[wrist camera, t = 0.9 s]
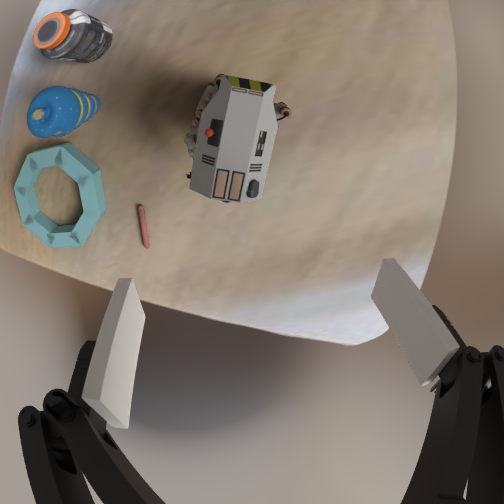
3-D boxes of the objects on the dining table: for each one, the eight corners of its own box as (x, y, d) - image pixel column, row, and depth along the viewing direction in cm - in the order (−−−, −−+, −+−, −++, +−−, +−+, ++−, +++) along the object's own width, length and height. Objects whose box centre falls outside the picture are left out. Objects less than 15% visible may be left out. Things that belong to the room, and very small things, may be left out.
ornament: (76, 117, 27) (6, 140, 14) (89, 80, 24) (20, 83, 12) (107, 127, 28) (45, 154, 16) (122, 90, 26) (62, 93, 14)
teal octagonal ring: (17, 155, 27) (8, 159, 25) (96, 136, 29) (89, 140, 27) (38, 241, 35) (31, 249, 33) (111, 236, 37) (106, 245, 35)
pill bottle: (111, 15, 20) (72, -8, 10) (116, 52, 23) (76, 39, 14) (71, 34, 20) (24, 23, 10) (76, 70, 23) (27, 68, 14)
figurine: (176, 154, 32) (151, 196, 20) (215, 72, 27) (215, 54, 15) (240, 180, 35) (256, 236, 23) (282, 103, 30) (328, 112, 18)
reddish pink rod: (138, 204, 35) (137, 206, 34) (144, 203, 35) (142, 206, 34) (145, 246, 38) (144, 249, 38) (150, 246, 39) (149, 249, 38)
